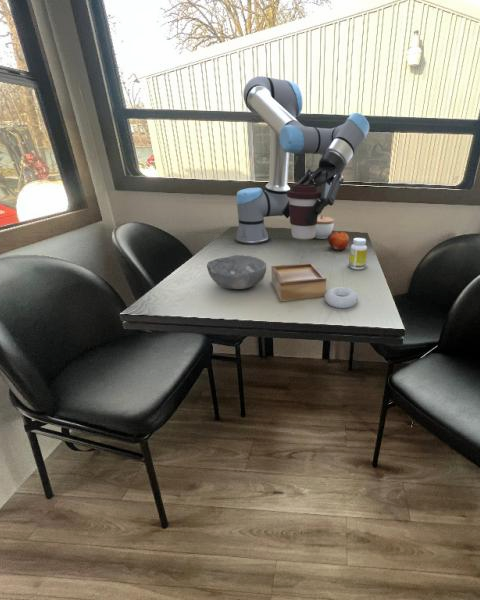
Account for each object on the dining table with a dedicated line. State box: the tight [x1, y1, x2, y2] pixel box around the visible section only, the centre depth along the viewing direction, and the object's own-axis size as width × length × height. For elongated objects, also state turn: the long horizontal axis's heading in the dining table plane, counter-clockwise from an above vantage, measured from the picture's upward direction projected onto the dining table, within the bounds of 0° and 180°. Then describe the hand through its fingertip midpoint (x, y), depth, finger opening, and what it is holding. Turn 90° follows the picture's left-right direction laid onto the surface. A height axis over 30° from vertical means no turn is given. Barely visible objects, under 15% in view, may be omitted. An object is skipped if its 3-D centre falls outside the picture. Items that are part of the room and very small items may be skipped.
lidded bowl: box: [314, 214, 335, 240], centre depth 151 cm, size 13×13×11 cm
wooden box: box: [270, 262, 327, 302], centre depth 94 cm, size 14×14×6 cm
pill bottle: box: [349, 237, 368, 270], centre depth 113 cm, size 6×6×11 cm
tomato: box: [328, 230, 350, 251], centre depth 134 cm, size 9×9×8 cm
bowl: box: [206, 254, 267, 290], centre depth 94 cm, size 18×18×8 cm
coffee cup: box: [287, 183, 321, 240], centre depth 88 cm, size 10×10×15 cm
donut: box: [323, 286, 359, 309], centre depth 88 cm, size 10×4×10 cm
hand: (296, 218), depth 87 cm, fingers closed on coffee cup, 10 cm apart
